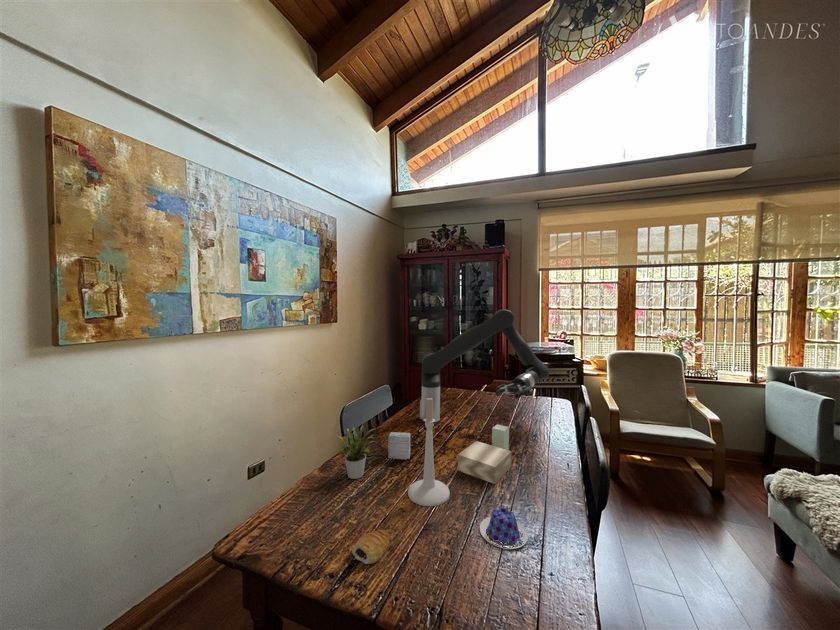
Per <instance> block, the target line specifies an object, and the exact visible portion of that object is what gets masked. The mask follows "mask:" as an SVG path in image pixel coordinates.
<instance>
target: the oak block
mask: <svg viewBox="0 0 840 630" xmlns="http://www.w3.org/2000/svg"><path fill="white" fill-rule="evenodd" d="M511 467H512V451H511V450H510V449H509V450H505V449H502V448H499V447H495V446H492V444H489V443H488V444H487V443H485V442H481V441H478V440H476V441H475V440H474V442H473V443H471V444H470V445H469V446H467V447H466V448H465V449H463V450H462V451H461V452H459V453H458V454H457V471H458V472H460V471H461V473H464V474H466V475H469V476H472V477H475V478H478V479H481V480H483V481H486V482H488V483H491V484H494V485H496V484H497V483H498V482H499V481H500V480H501V478H502V477H503V476H504V475H505V474H506V473H507V472H508V471H509V470H510V468H511Z"/></svg>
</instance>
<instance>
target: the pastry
mask: <svg viewBox="0 0 840 630" xmlns="http://www.w3.org/2000/svg"><path fill="white" fill-rule="evenodd" d="M390 542H391V537H390V534H389V533H388V532H387V531H386V530H385V529H378V530H374V531H369V532H368V533H365V534H364V535H362V537H359V538H358V539H357V541H356V544H354V546H353V548H352V549H351V553H352V556H353V557H354V556H355V557H354V558H355V559H356V560H357V561H360V562H362V563H363V564H365V565H371V564H375V563H376V562H378V561H379V560H380V559H381V558H382V557H383V556H384V554H385V552H386V551H387V550H388V547H389V546H390ZM382 555H383V556H382Z"/></svg>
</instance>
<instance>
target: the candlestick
mask: <svg viewBox="0 0 840 630" xmlns="http://www.w3.org/2000/svg"><path fill="white" fill-rule="evenodd" d="M423 422H424V423H425V424H424V426H425V427H426V431H425V445H424V446H425V447H424V462H423V476H422V478H423V479H419V480H417V481H415V482H413V483H412V484H410V486H409V487H408V489H407V496H408V497H409V499H410V501H412V502H413V503H414V504H416V505H420V506H422V507H436V506H440V505H443V504H444V503H446V502H447V501H448V500H449V498H450V494H451V492H450V489H449V487H448V486H447V485H446V484H445V483H444V482H442V481H440V480H437V479H436V478H435V464H434V458H435V457H434V438H433V437H434V436H433V427H434V425H435V424H434V423H436V422H435V419H433V399H432V398H430V397H429V398H427V399H426V419H424V421H423Z"/></svg>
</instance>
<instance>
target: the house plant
mask: <svg viewBox="0 0 840 630" xmlns="http://www.w3.org/2000/svg"><path fill="white" fill-rule="evenodd" d="M363 425H364V424H363ZM363 425H361V427H360V429H359V432H358V434H357V431H356V429H355V427H354V426H353V425H352V426H351V427H352V431H353V433H352V431H350V429H349V428H348V427H346V430H347V435H348V439H349V440H348V441H346V440H345V439H344V438H343V437H342V436H340V435H337V434H336V435H334V436H336V437H338V438H340V439H341V440H342V441H343V442H344V443H345V444H346V445H347V447H346V446H345V445H343V444H341V443H340V444H339V445H340V446H341V447H342V449H338V450H337V452H340V453H343V454H346V455H345V457H344V461H345V466H346V467H345V468H346V472H347V477H348V478H349V479H351V480H352V479H353V480H354V479H355V480H356V479H360V478H362V477H363V475H364V472H365V467H366V459H367V456H368V454H369V453H370V448H368V446H369V445H371V443H373V442H374V440H372V441H369V442H368V440H369V439H374V438H375V437H374V436H375V435H376V434H371V435H369V434H370V433H371V432H372V431H373V430H376V429H377V428H371V429H370V430H368V431H367V432H366V433H365V434H364V435H363V431H364V430H363V429H364V428H363V427H364V426H363ZM353 435H354V436H353ZM368 435H369V436H368ZM362 436H363V437H362ZM367 436H368V437H367ZM367 453H368V454H367Z"/></svg>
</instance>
